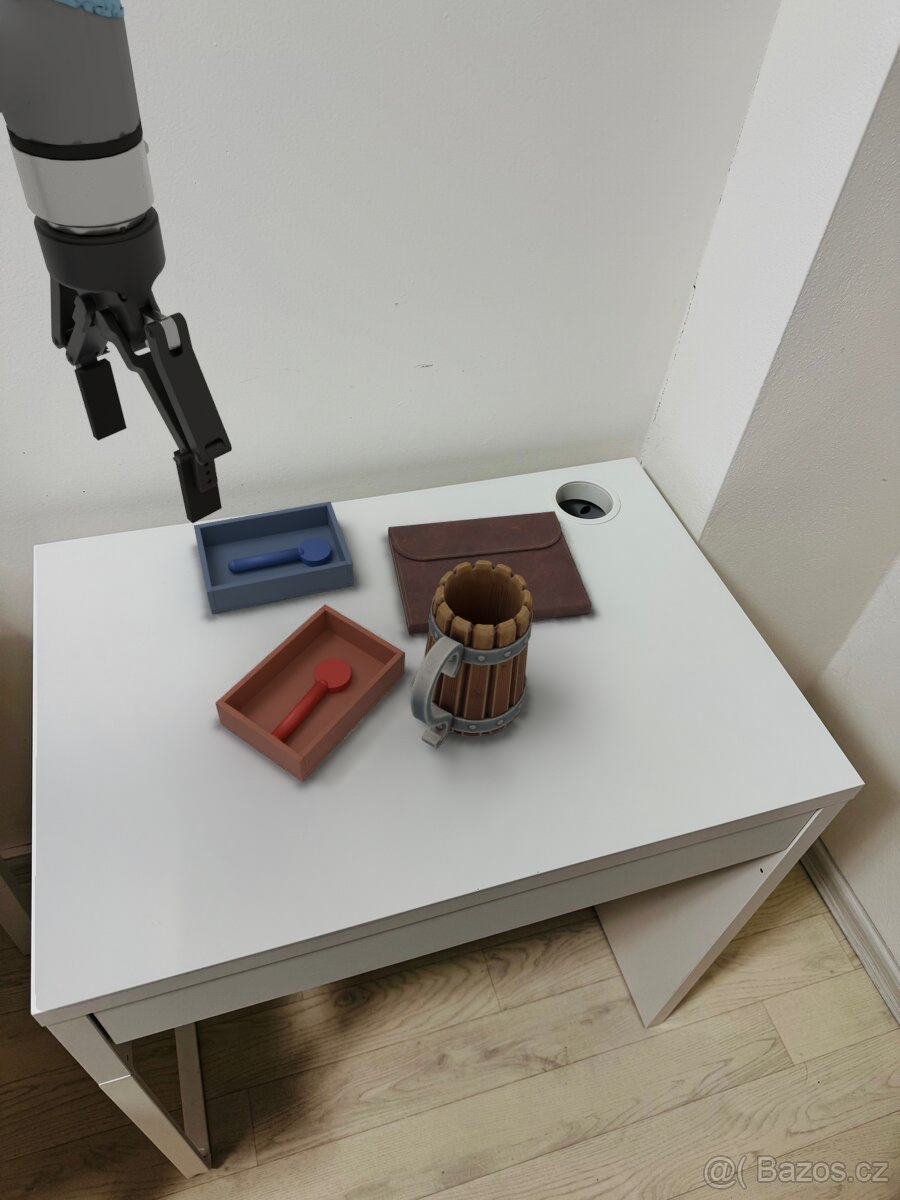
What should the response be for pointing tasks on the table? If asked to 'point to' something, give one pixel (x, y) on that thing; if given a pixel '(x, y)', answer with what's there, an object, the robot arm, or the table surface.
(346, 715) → the red bin
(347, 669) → the red spoon
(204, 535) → the blue bin
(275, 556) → the blue spoon
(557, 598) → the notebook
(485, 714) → the mug
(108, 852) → the table surface
